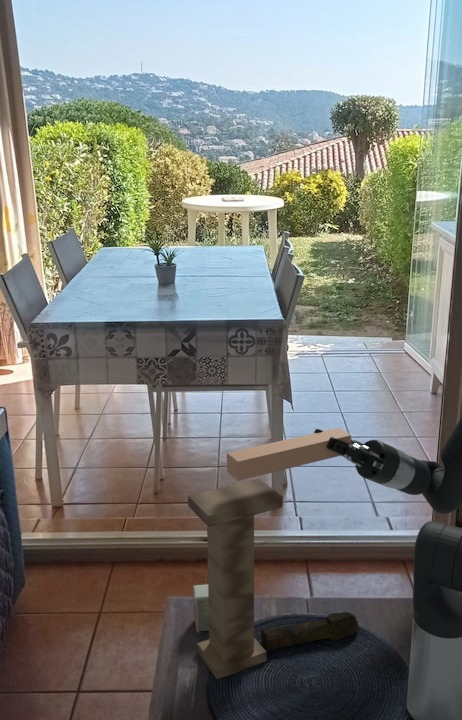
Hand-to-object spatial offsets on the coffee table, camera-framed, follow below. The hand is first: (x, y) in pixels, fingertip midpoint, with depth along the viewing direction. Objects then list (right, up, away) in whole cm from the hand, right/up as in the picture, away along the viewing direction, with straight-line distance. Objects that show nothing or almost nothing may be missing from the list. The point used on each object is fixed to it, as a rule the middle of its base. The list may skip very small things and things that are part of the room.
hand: (322, 438), depth 130 cm
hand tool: (-1, -39, +8) cm, 40 cm away
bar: (-6, -4, -2) cm, 7 cm away
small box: (-21, -38, +12) cm, 45 cm away
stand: (-16, -40, +3) cm, 43 cm away
